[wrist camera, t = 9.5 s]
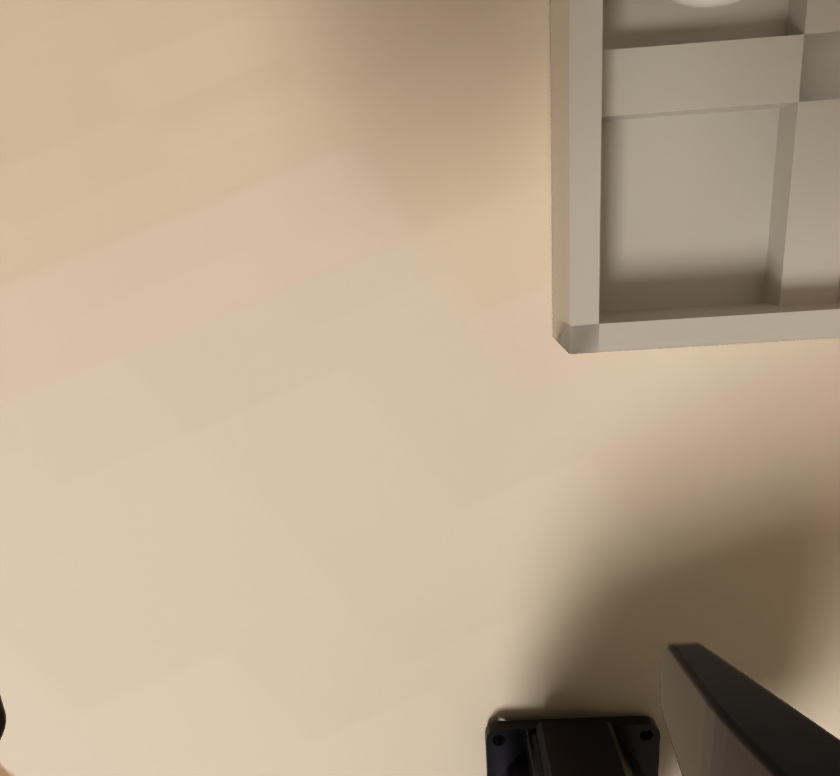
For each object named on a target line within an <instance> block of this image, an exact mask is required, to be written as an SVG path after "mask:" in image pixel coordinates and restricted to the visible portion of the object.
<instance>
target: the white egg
mask: <svg viewBox="0 0 840 776" xmlns="http://www.w3.org/2000/svg"><path fill="white" fill-rule="evenodd" d="M670 1H672V2H674V3H676V4H680V5H683V6H687V7H694V8H716V7H723V6H727V5H731V4H734V3H737V2H741V1H743V0H670Z"/></svg>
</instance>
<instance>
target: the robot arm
mask: <svg viewBox="0 0 840 776" xmlns="http://www.w3.org/2000/svg"><path fill="white" fill-rule="evenodd" d="M660 702H661V708H662V713H663V716H664V719H665V723H666V726H667V729H668V732H669V735H670V738H671V741H672V745H673V748H674V751H675V754H676V757H677V760H678V763H679V766H680V770H681V773H682V776H840V740H839V739H838V738H836V737H835V736H833V735H832V734H830V733H829V732H827V731H826V730H825V729H823V728H822V727H820V726H819V725H817V724H816V723H814V722H813V721H812V720H810V719H809V718H807V717H806V716H804V715H803V714H801V713H800V712H799V711H797V710H796V709H794V708H793V707H791V706H790V705H788V704H787V703H785V702H784V701H783V700H781V699H780V698H778V697H777V696H775V695H774V694H772V693H771V692H770V691H768V690H767V689H765V688H764V687H762V686H761V685H759V684H758V683H757V682H755V681H754V680H752V679H751V678H749V677H748V676H746V675H745V674H744V673H742V672H741V671H739V670H738V669H736V668H735V667H733V666H732V665H731V664H729V663H728V662H726V661H725V660H723V659H722V658H720V657H719V656H717V655H716V654H715V653H713V652H712V651H710V650H709V649H707V648H706V647H704V646H703V645H701V644H699V643H697V642H670V643H668V644H666V645H665V646H664V649H663V653H662V669H661V687H660ZM5 724H6V713H5V710H4V706H3V703H2V700H1V696H0V739H1V737H2V735H3V732H4V729H5ZM643 730H647V731H645V732H642V731H643ZM496 735H502V736H501V737H495V736H496ZM485 742H486V764H487V776H658V764H659V743H660V733H659V729H658V727H657V725H656V722H655V721H654V720H653V719H652V718H650V717H648V716H627V717H600V718H572V719H544V720H517V721H496V722H492V723H490V724H489V725H488V726H487V727H486V730H485Z"/></svg>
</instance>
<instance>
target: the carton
mask: <svg viewBox="0 0 840 776" xmlns="http://www.w3.org/2000/svg"><path fill="white" fill-rule="evenodd" d="M550 51H551V174H552V298H553V338H554V339H555V340H556V341H557V342H558V343H559V344H560V345H561V346H562V347H563V348H564V349H565V350H566V351H567V352H568V353H569V354H577V353H594V352H611V351H628V350H644V349H661V348H678V347H694V346H711V345H728V344H745V343H761V342H778V341H795V340H811V339H828V338H840V0H743V1H741V2H737V3H734V4H731V5H727V6H723V7H716V8H694V7H687V6H683V5H680V4H676V3H674V2H672V1H670V0H550Z"/></svg>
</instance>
